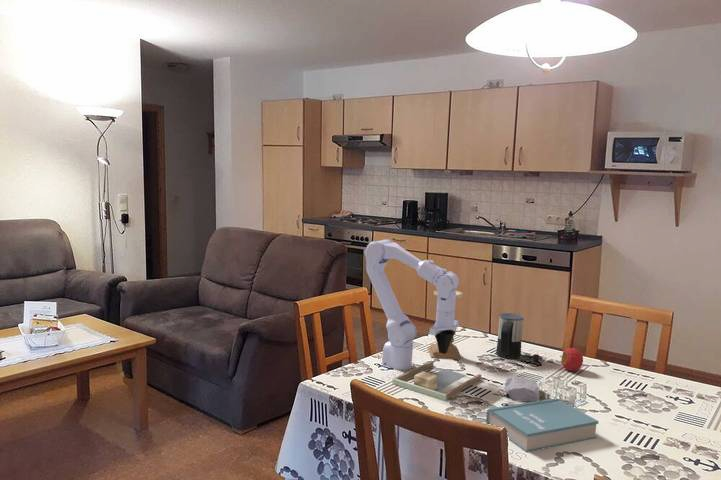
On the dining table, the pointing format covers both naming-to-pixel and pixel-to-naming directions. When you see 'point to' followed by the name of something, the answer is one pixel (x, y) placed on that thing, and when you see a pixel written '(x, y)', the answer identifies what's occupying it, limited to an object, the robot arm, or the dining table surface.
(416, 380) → the maple block
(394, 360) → the robot arm
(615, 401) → the dining table surface
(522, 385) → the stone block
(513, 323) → the milk frother
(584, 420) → the book
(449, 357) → the candle holder
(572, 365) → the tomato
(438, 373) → the box
